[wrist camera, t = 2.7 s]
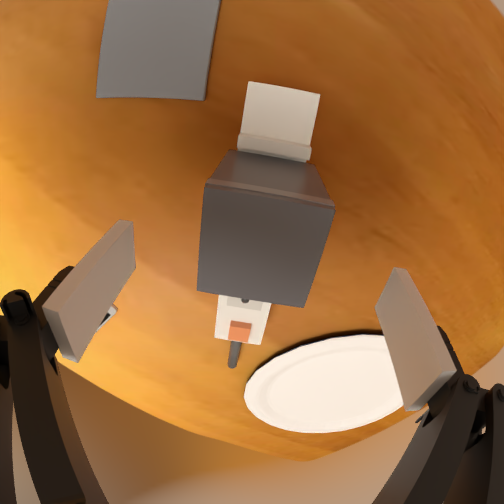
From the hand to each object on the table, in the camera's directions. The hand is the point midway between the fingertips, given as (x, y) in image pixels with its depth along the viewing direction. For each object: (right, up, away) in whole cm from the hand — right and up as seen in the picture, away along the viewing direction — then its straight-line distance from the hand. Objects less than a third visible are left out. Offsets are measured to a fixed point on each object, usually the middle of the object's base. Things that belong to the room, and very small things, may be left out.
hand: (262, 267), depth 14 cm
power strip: (-1, 0, +15) cm, 15 cm away
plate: (+13, -21, +27) cm, 37 cm away
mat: (-8, +18, +5) cm, 20 cm away
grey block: (0, +5, +7) cm, 9 cm away
